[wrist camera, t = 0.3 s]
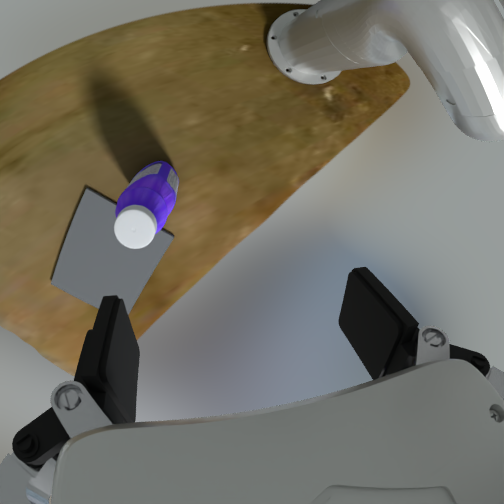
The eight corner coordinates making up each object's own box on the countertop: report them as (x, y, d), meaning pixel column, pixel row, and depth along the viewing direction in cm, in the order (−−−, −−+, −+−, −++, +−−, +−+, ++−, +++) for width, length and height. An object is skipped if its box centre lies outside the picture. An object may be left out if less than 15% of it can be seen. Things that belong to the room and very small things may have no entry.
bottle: (147, 210, 42) (127, 271, 27) (124, 181, 39) (89, 229, 24) (185, 182, 41) (184, 230, 26) (163, 152, 38) (146, 182, 23)
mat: (87, 187, 38) (86, 188, 38) (174, 235, 45) (174, 237, 44) (52, 281, 44) (50, 283, 43) (125, 318, 50) (124, 321, 50)
